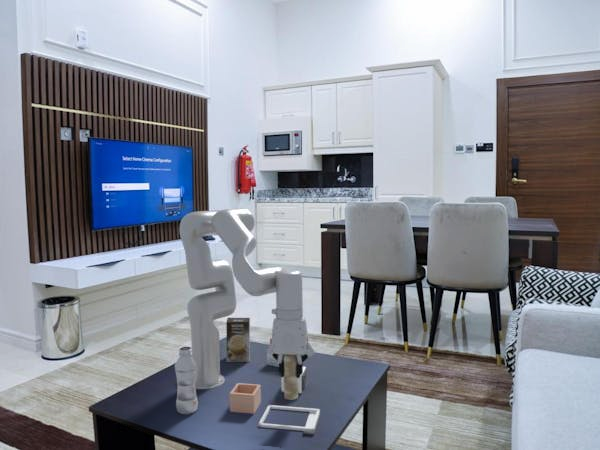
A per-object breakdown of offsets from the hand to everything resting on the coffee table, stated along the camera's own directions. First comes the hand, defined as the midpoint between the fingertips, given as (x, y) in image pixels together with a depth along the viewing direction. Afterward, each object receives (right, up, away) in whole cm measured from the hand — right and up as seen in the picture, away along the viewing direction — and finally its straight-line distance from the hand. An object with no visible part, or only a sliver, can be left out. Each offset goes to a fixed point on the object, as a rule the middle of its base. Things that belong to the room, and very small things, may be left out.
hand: (290, 375), depth 140 cm
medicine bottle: (+1, -12, +23) cm, 26 cm away
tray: (0, -14, +2) cm, 14 cm away
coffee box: (-22, -10, +51) cm, 56 cm away
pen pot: (-14, -13, +9) cm, 22 cm away
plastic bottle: (-32, -14, +7) cm, 35 cm away
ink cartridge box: (-5, -10, +44) cm, 45 cm away
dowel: (0, -6, 0) cm, 6 cm away
